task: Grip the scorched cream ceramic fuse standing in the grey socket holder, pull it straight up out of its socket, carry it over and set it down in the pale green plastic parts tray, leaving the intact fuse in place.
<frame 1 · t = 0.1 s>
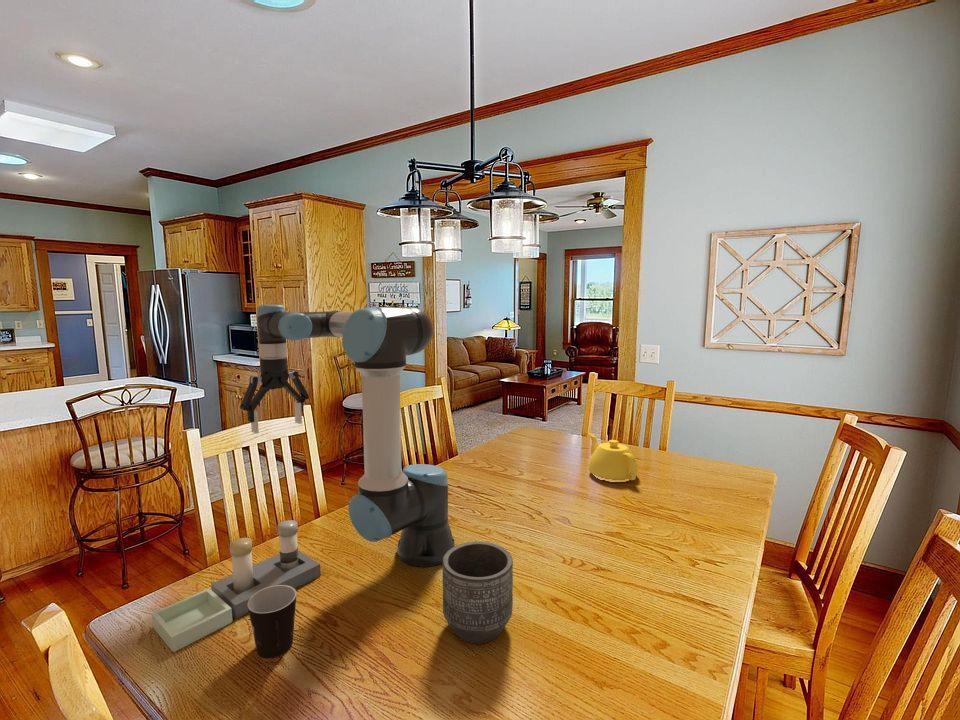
hand: (277, 427, 143), 28 cm above the table, fingers open, 13 cm apart
grey socket holder: (268, 585, 112), on the table
teapot: (610, 475, 181), on the table
parts tray: (193, 624, 98), on the table
blown fuse: (290, 574, 116), resting in grey socket holder
planter: (477, 627, 98), on the table
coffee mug: (272, 652, 91), on the table
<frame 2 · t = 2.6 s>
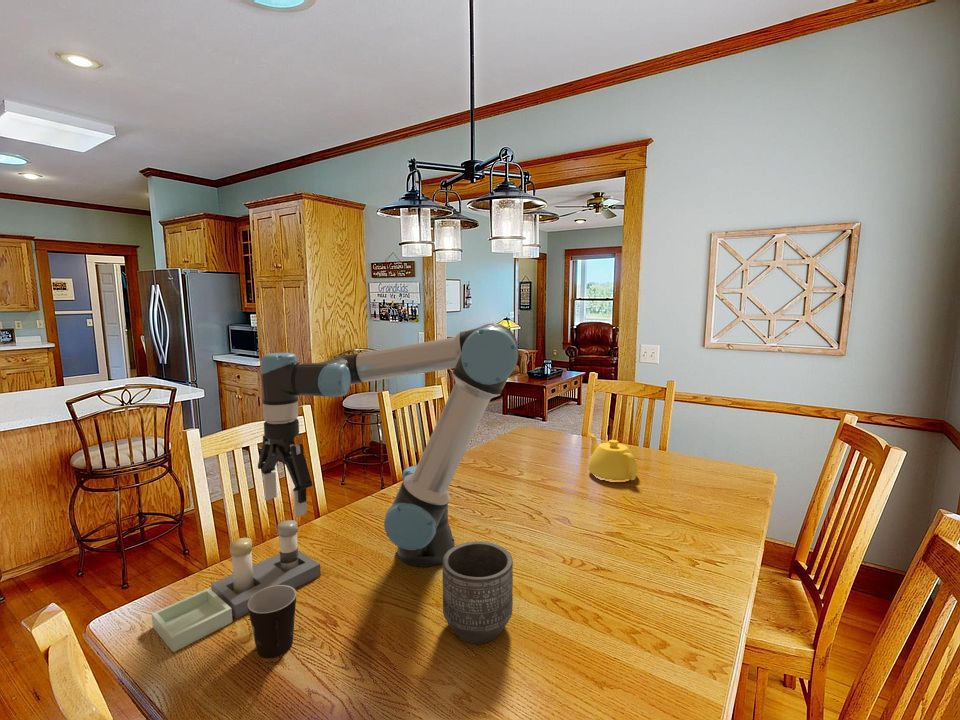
hand: (285, 506, 114), 17 cm above the table, fingers open, 13 cm apart
nothing on the table moved.
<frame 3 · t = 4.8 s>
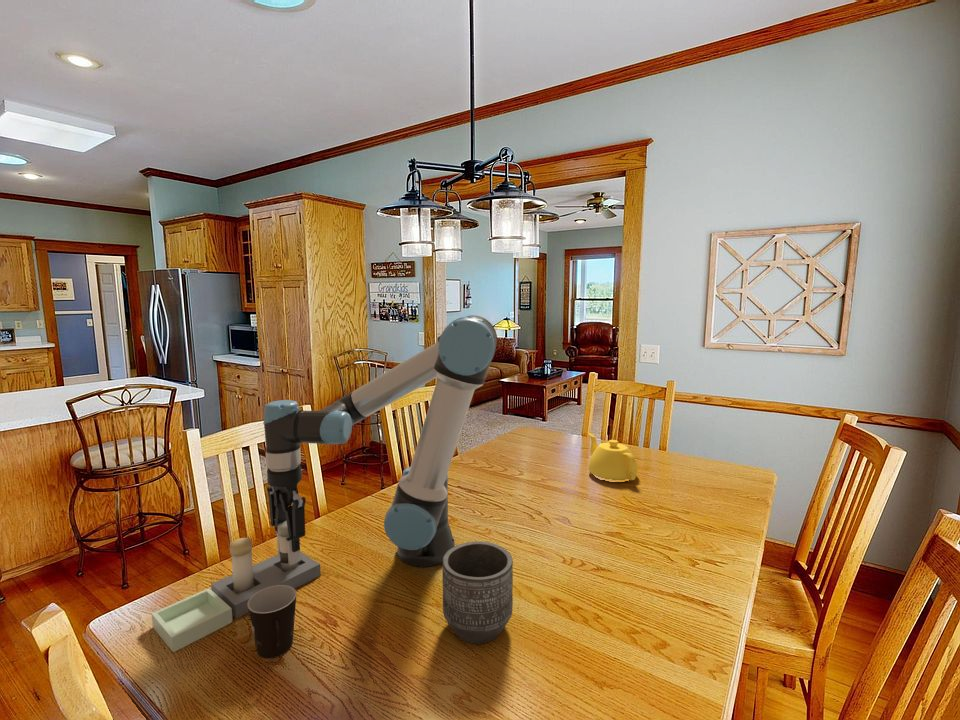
hand: (289, 558, 115), 4 cm above the table, fingers closed on blown fuse, 4 cm apart
blown fuse: (290, 574, 116), resting in grey socket holder, touching gripper
everything else where it was.
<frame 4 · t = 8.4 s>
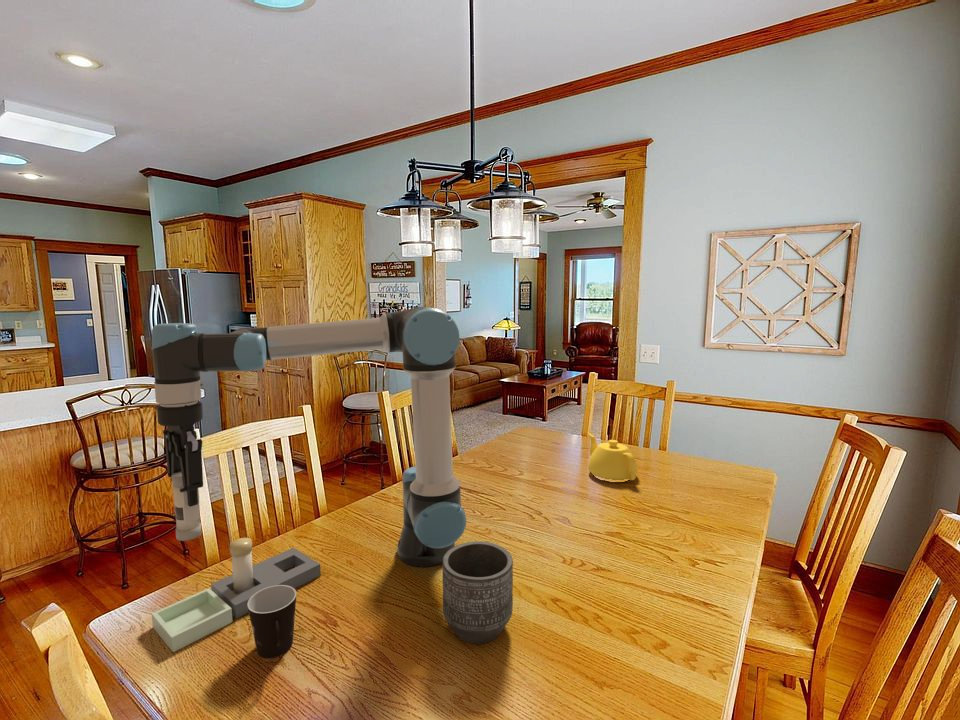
hand: (187, 516, 96), 23 cm above the table, fingers closed on blown fuse, 4 cm apart
blown fuse: (189, 535, 97), point 19 cm above the table, touching gripper
everything else where it was.
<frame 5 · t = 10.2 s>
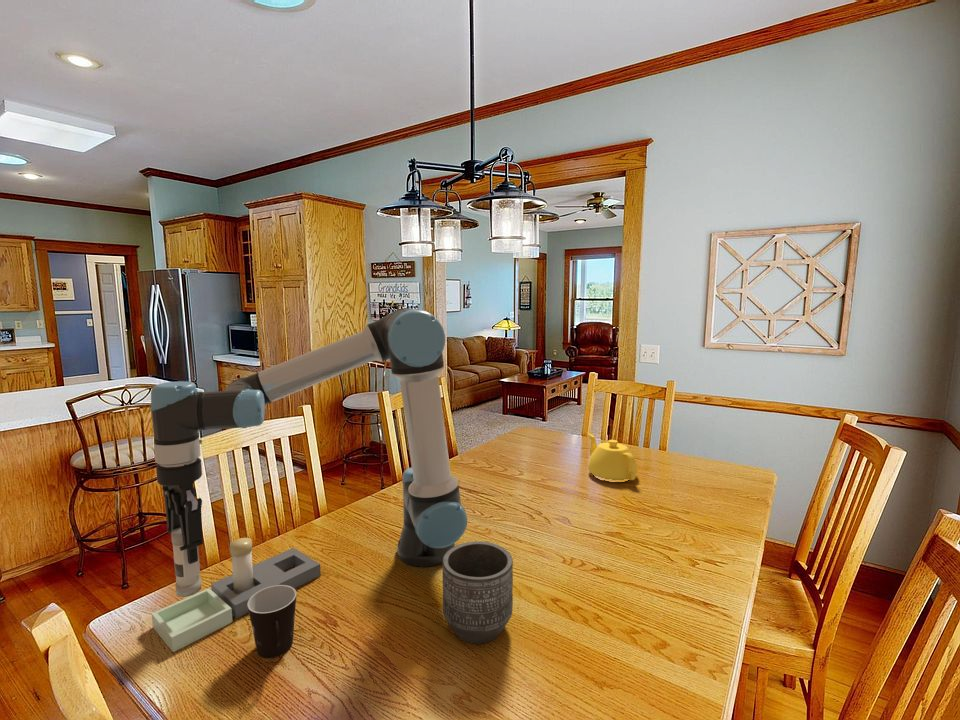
hand: (187, 571, 97), 12 cm above the table, fingers closed on blown fuse, 4 cm apart
blown fuse: (188, 590, 97), point 8 cm above the table, touching gripper
everything else where it was.
when the fingers open (6 cm above the table, at t = 11.8 s): blown fuse drops 1 cm, resting on parts tray.
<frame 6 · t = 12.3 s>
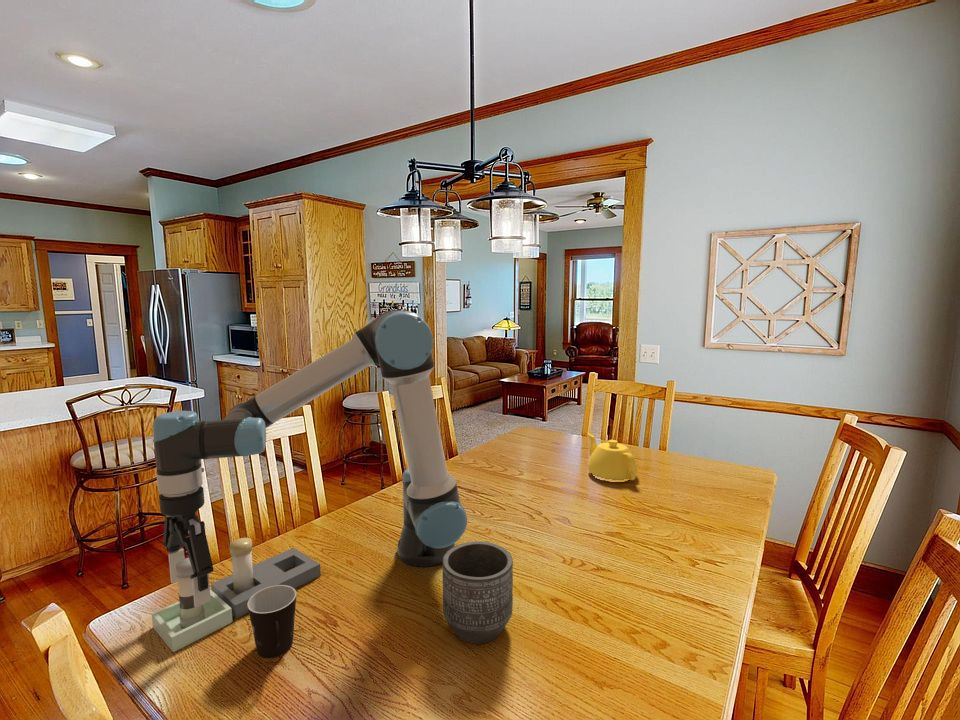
hand: (190, 591, 97), 7 cm above the table, fingers open, 11 cm apart
blown fuse: (192, 621, 98), point 1 cm above the table, touching parts tray
everything else where it was.
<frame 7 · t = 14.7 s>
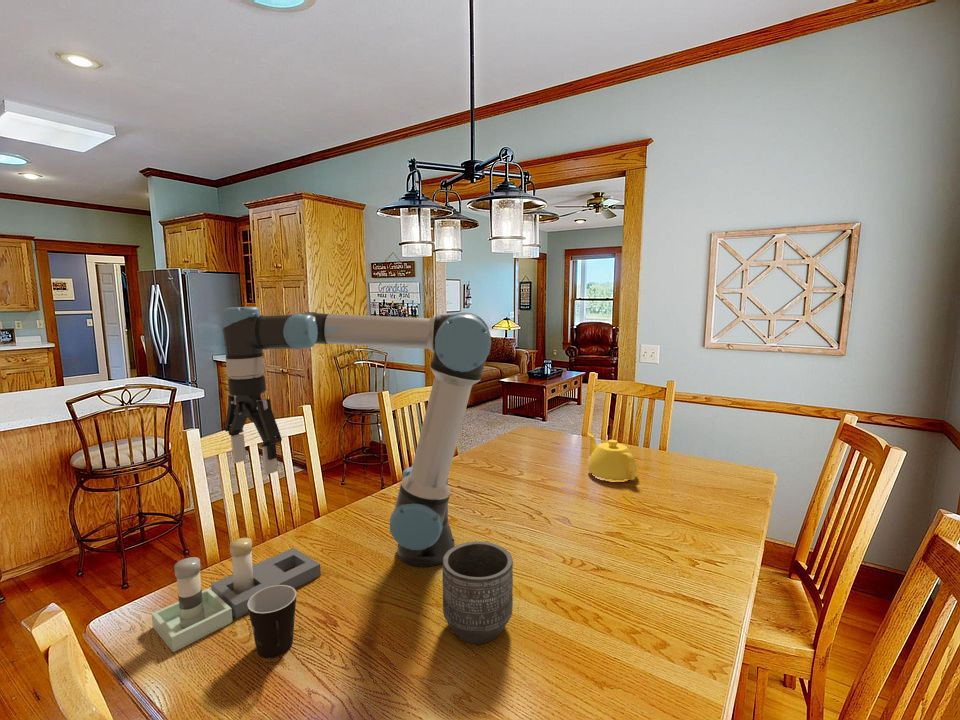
hand: (254, 467, 110), 28 cm above the table, fingers open, 13 cm apart
nothing on the table moved.
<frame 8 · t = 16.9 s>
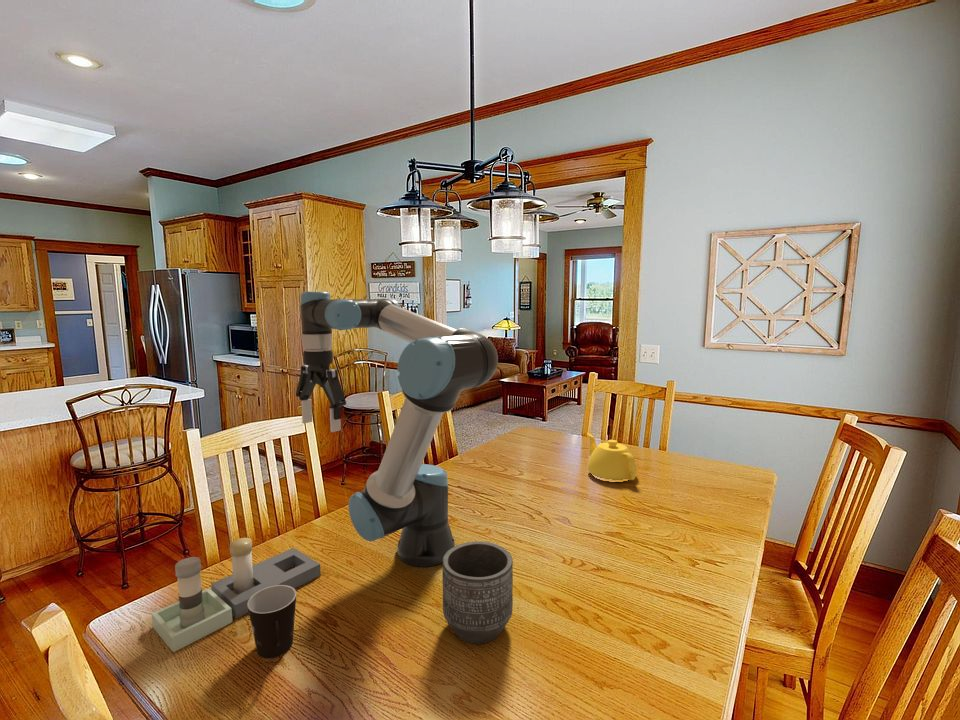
hand: (321, 426, 131), 32 cm above the table, fingers open, 13 cm apart
nothing on the table moved.
at the end: blown fuse inside the target area on the parts tray (0.0 cm from its centre), point 0.6 cm above the parts tray's base; blown fuse touching parts tray; the gripper is holding nothing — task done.
